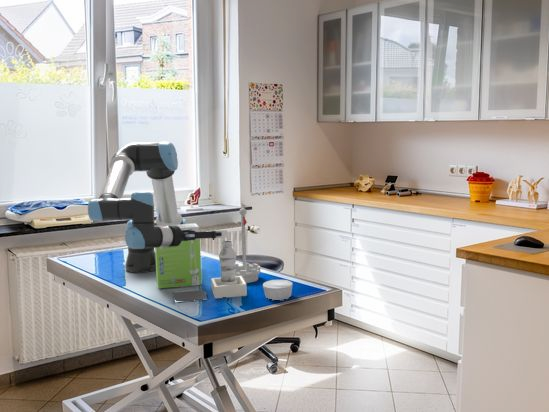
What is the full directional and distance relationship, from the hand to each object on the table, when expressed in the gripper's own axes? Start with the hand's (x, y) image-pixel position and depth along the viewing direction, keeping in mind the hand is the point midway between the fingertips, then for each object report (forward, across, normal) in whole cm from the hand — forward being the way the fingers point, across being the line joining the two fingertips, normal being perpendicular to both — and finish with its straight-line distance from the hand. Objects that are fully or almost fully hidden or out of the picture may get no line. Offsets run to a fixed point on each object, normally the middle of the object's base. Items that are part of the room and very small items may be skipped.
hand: (215, 233), depth 223 cm
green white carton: (-2, -24, -20) cm, 31 cm away
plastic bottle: (+5, +1, -23) cm, 23 cm away
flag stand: (+21, -9, -20) cm, 30 cm away
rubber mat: (-9, -6, -23) cm, 26 cm away
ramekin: (+14, +19, -24) cm, 34 cm away
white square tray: (+5, +1, -23) cm, 23 cm away
